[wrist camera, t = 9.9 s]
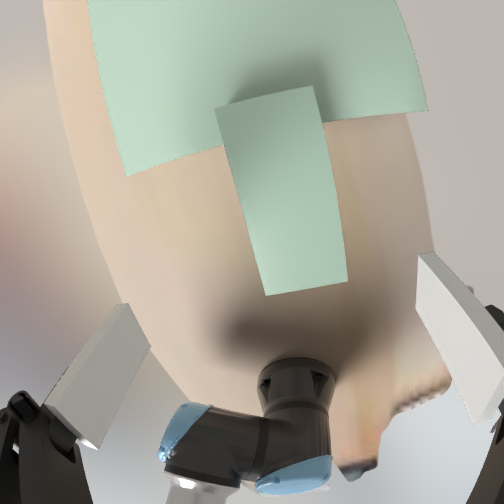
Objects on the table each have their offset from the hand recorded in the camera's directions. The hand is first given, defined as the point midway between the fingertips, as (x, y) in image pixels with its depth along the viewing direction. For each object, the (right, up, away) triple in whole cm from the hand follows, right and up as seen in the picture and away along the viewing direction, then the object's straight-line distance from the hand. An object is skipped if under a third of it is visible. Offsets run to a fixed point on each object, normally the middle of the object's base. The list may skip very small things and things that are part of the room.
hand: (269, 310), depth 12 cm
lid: (0, +14, +4) cm, 15 cm away
